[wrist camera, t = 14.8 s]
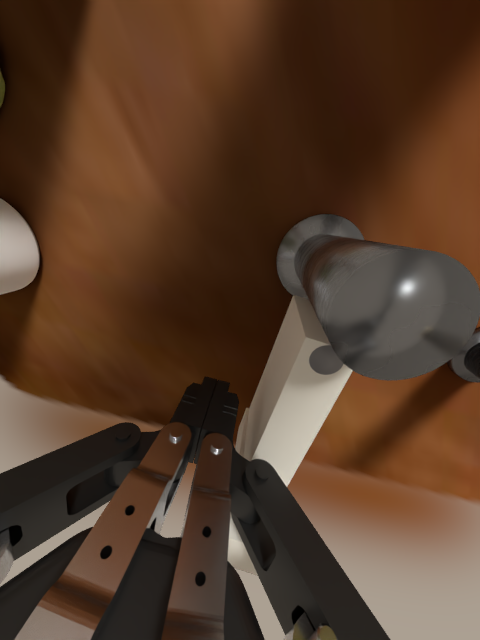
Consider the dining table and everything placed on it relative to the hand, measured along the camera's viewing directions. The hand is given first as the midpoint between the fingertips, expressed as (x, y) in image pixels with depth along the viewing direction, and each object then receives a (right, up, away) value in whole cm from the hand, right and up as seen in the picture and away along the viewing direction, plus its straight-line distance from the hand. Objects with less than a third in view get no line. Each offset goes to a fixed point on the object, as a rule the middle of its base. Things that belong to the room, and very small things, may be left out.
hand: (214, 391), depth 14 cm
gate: (+4, +1, +2) cm, 4 cm away
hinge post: (+6, +8, +1) cm, 10 cm away
